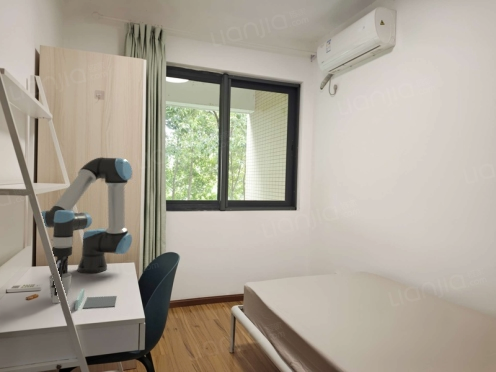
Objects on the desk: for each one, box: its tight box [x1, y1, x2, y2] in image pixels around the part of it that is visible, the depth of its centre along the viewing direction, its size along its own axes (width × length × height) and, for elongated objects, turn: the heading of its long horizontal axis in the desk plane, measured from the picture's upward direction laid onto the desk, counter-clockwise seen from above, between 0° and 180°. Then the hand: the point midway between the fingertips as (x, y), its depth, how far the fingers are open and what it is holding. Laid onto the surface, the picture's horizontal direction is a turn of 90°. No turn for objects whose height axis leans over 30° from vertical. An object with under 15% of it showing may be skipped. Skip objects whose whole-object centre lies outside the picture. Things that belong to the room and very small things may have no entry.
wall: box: [74, 288, 85, 311], centre depth 133 cm, size 14×1×4 cm, turn 19°
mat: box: [82, 295, 118, 310], centre depth 136 cm, size 12×12×1 cm
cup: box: [49, 272, 72, 300], centre depth 137 cm, size 8×8×10 cm
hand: (59, 298), depth 137 cm, fingers open, 9 cm apart
